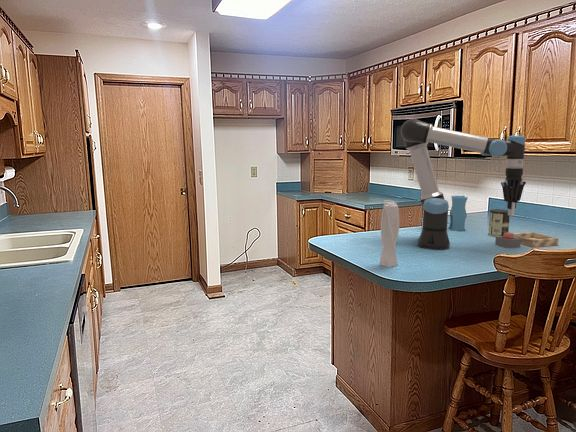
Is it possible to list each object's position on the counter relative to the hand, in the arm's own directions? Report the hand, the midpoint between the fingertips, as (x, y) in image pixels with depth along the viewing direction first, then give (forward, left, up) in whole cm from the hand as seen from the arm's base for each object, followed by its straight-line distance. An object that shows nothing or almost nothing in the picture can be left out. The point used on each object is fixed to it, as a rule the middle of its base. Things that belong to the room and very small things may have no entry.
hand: (510, 215), depth 213 cm
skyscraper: (-75, -17, -16) cm, 79 cm away
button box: (0, 0, -16) cm, 16 cm away
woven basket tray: (+17, +2, -16) cm, 23 cm away
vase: (+1, +42, -16) cm, 45 cm away
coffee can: (+13, +22, -16) cm, 30 cm away
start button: (0, 0, -13) cm, 13 cm away
